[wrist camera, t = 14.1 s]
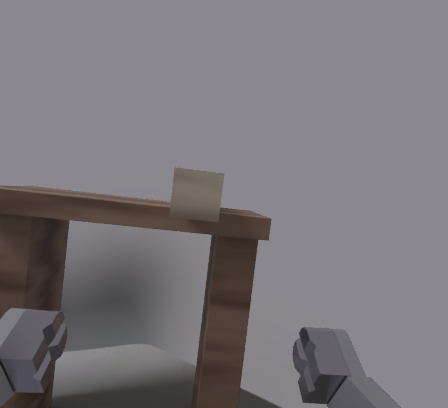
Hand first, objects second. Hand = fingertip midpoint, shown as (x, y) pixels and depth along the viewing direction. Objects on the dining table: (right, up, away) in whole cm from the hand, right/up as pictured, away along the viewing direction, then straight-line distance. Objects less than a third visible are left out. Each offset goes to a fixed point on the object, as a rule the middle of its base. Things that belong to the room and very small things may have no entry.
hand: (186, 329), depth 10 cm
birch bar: (-1, +4, +18) cm, 18 cm away
